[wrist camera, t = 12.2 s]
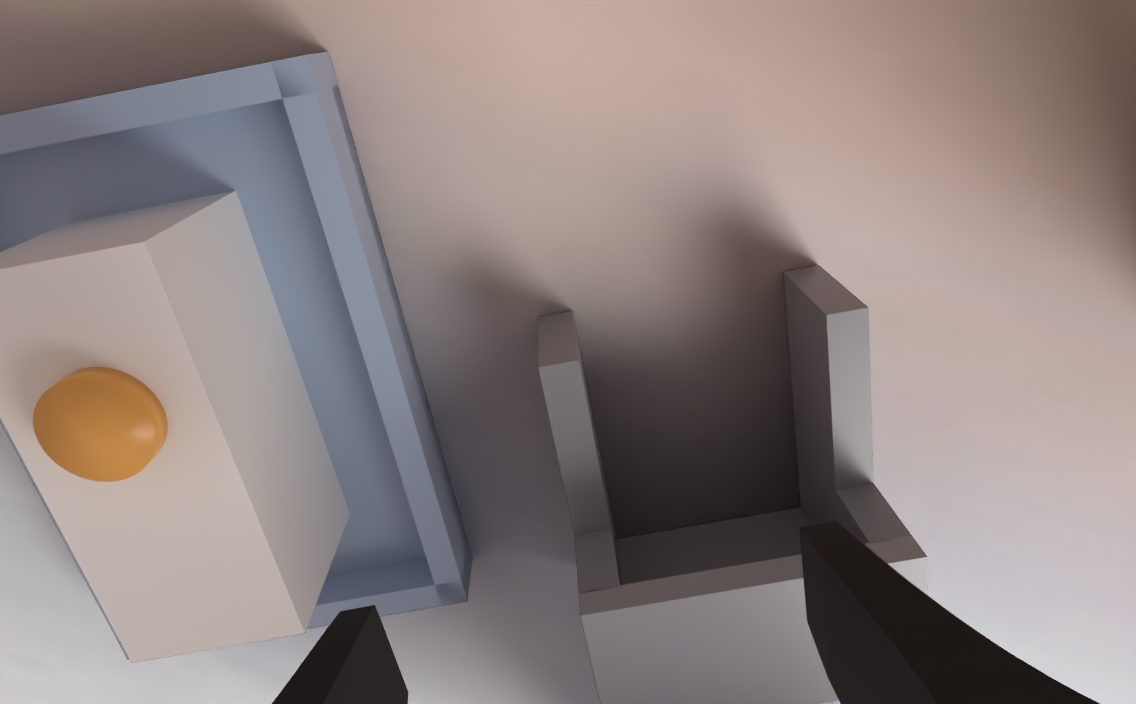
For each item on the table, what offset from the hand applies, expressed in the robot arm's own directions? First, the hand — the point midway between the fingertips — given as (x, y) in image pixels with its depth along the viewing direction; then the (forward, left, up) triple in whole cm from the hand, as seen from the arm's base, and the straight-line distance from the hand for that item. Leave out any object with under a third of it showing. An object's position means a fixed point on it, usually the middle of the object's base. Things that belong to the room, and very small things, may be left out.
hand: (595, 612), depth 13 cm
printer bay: (-3, -3, -10) cm, 11 cm away
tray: (+2, +10, -10) cm, 14 cm away
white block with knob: (+2, +10, -10) cm, 14 cm away
